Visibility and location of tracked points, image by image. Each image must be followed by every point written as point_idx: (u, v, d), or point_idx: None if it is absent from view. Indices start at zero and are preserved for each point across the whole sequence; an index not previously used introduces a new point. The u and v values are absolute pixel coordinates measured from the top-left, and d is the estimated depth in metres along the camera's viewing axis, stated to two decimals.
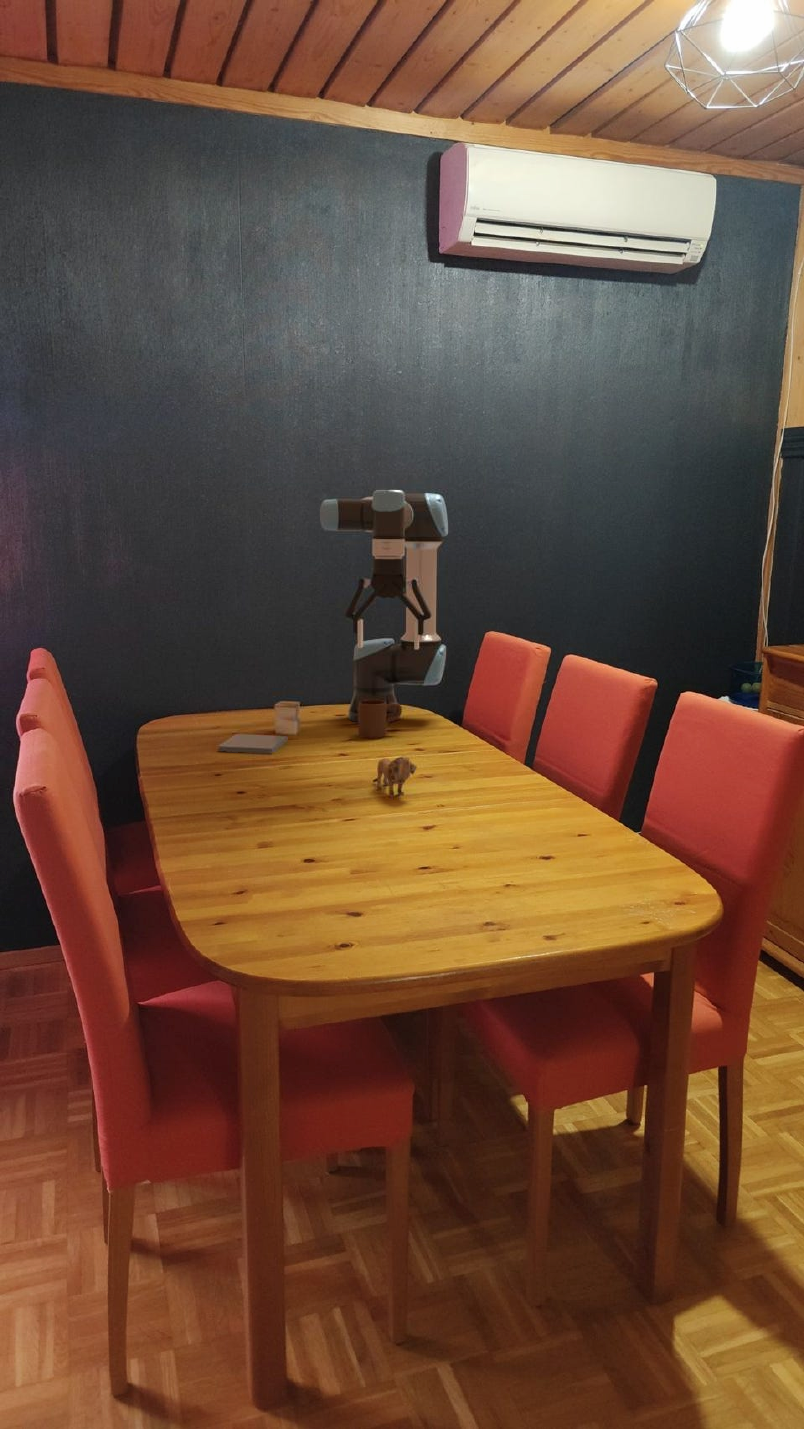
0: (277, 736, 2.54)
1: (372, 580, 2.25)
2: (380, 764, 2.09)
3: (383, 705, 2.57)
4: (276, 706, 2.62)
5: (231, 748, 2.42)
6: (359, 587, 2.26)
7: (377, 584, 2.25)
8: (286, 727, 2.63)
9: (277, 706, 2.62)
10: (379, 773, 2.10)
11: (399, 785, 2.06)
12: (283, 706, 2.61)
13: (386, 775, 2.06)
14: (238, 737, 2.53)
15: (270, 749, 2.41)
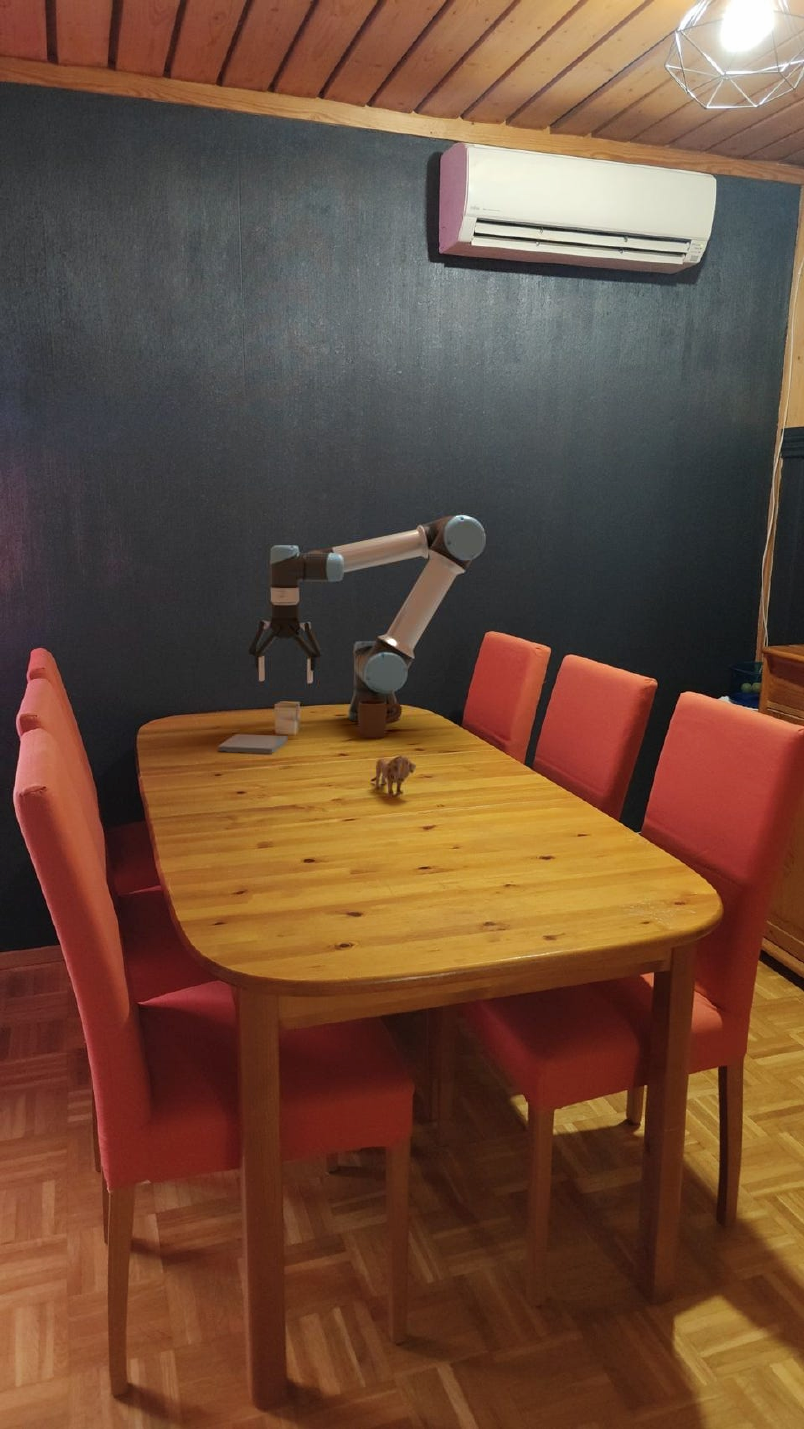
0: (277, 736, 2.54)
1: (271, 623, 2.59)
2: (379, 763, 2.10)
3: (383, 705, 2.57)
4: (276, 706, 2.62)
5: (231, 748, 2.42)
6: (259, 628, 2.60)
7: (275, 626, 2.59)
8: (286, 727, 2.63)
9: (277, 706, 2.62)
10: (378, 772, 2.10)
11: (398, 784, 2.07)
12: (283, 706, 2.61)
13: (385, 774, 2.07)
14: (238, 737, 2.53)
15: (270, 749, 2.41)
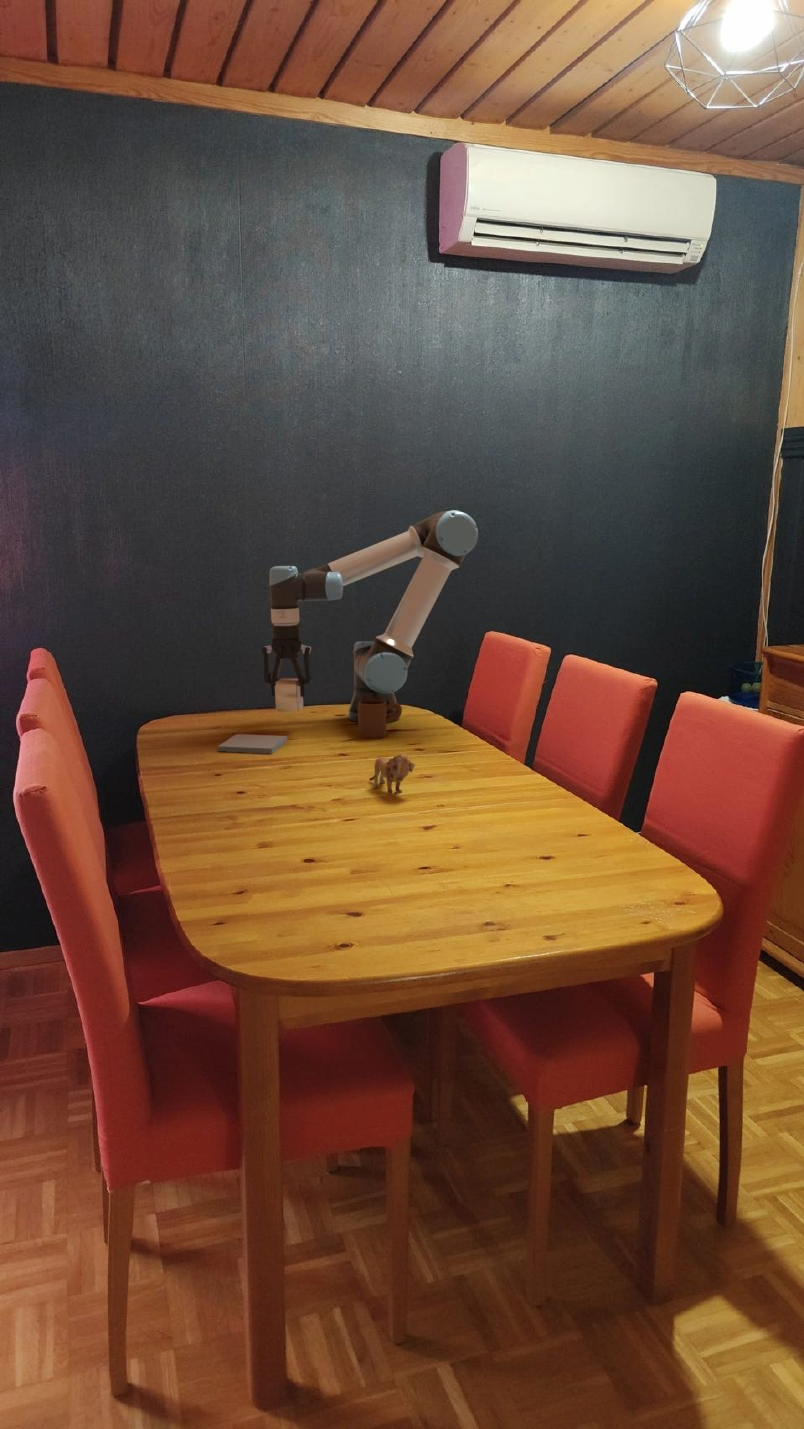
0: (277, 736, 2.54)
1: (271, 644, 2.60)
2: (377, 762, 2.11)
3: (383, 705, 2.57)
4: (277, 683, 2.61)
5: (231, 748, 2.42)
6: (264, 654, 2.61)
7: (277, 646, 2.60)
8: (288, 704, 2.61)
9: (278, 683, 2.61)
10: (376, 771, 2.11)
11: (397, 783, 2.08)
12: (284, 683, 2.60)
13: (384, 773, 2.07)
14: (238, 737, 2.53)
15: (270, 749, 2.41)
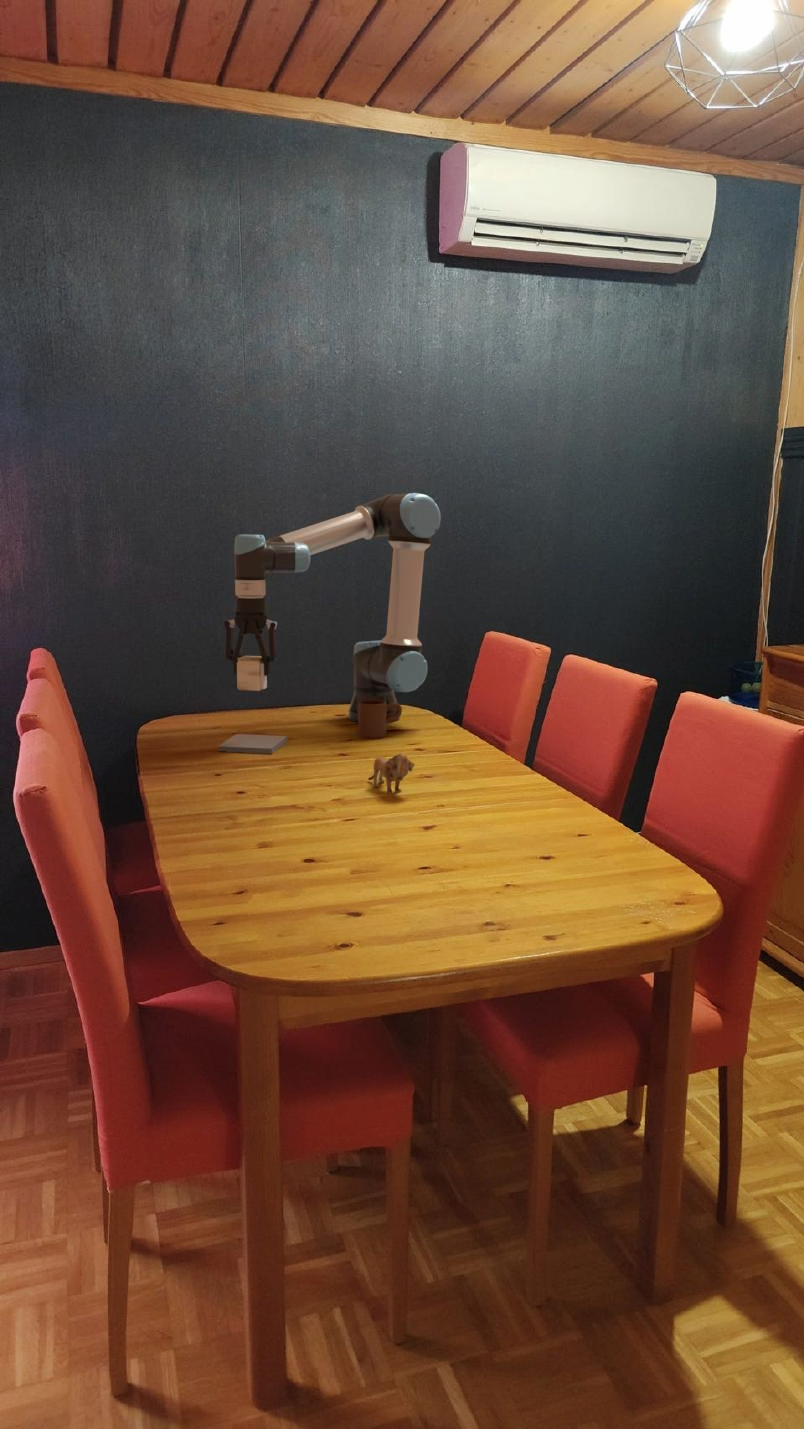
0: (277, 736, 2.54)
1: (235, 618, 2.43)
2: (376, 762, 2.11)
3: (383, 705, 2.57)
4: (239, 660, 2.43)
5: (231, 748, 2.42)
6: (226, 629, 2.43)
7: (240, 620, 2.42)
8: (250, 682, 2.43)
9: (240, 660, 2.43)
10: (375, 771, 2.11)
11: (396, 782, 2.08)
12: (247, 660, 2.42)
13: (383, 773, 2.08)
14: (238, 737, 2.53)
15: (270, 749, 2.41)
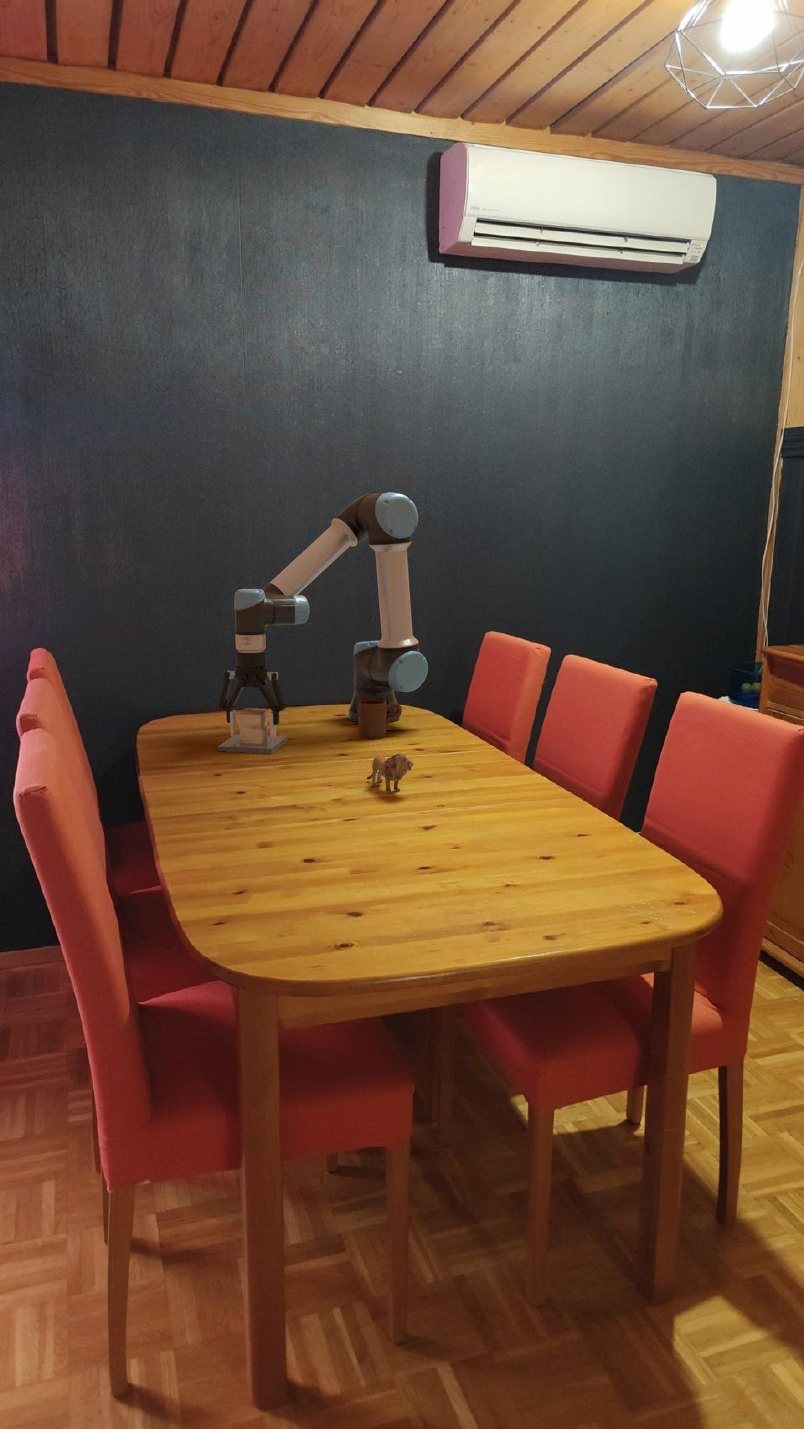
0: (277, 736, 2.54)
1: (236, 671, 2.45)
2: (375, 761, 2.11)
3: (383, 705, 2.57)
4: (240, 713, 2.45)
5: (231, 748, 2.42)
6: (225, 679, 2.45)
7: (241, 674, 2.44)
8: (252, 736, 2.46)
9: (242, 713, 2.45)
10: (374, 770, 2.12)
11: (395, 782, 2.09)
12: (248, 713, 2.44)
13: (382, 772, 2.08)
14: (238, 737, 2.53)
15: (270, 749, 2.41)
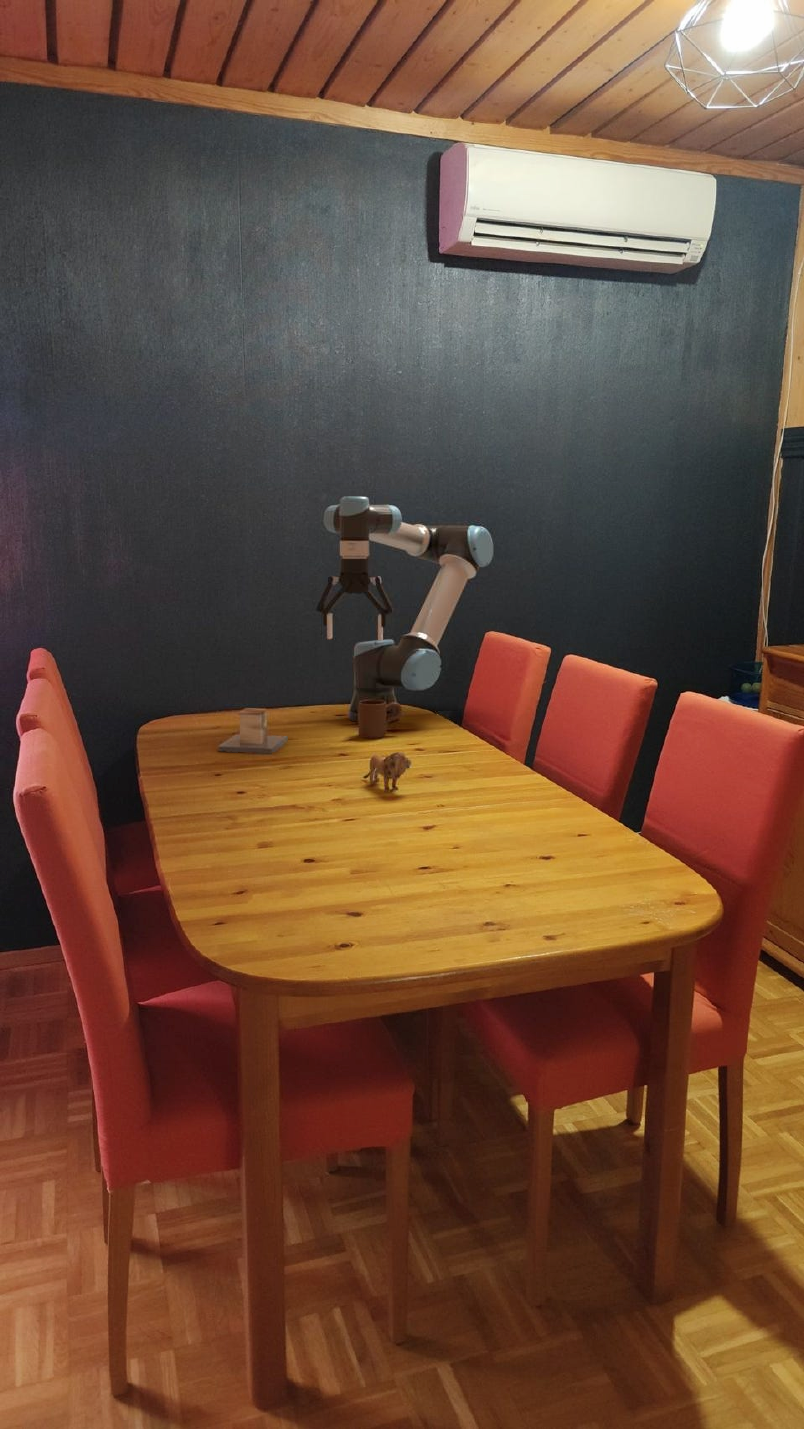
0: (277, 736, 2.54)
1: (340, 578, 2.50)
2: (373, 760, 2.12)
3: (383, 705, 2.57)
4: (240, 713, 2.45)
5: (231, 748, 2.42)
6: (328, 584, 2.50)
7: (344, 581, 2.49)
8: (252, 736, 2.46)
9: (242, 713, 2.45)
10: (372, 769, 2.13)
11: (393, 780, 2.10)
12: (248, 713, 2.44)
13: (381, 771, 2.10)
14: (238, 737, 2.53)
15: (270, 749, 2.41)
